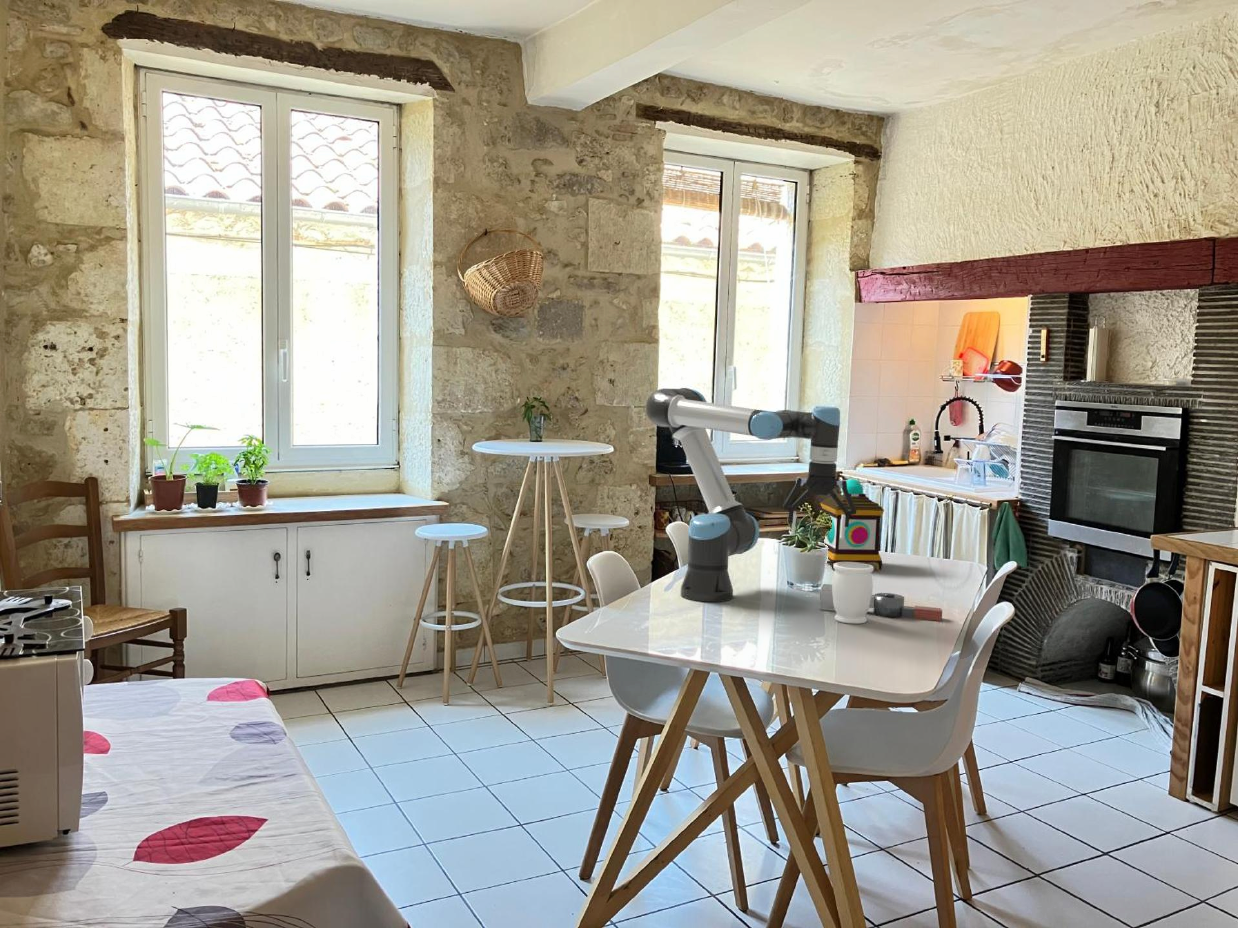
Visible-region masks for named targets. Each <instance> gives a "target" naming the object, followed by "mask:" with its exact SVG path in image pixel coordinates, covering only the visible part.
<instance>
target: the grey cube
mask: <svg viewBox="0 0 1238 928" xmlns="http://www.w3.org/2000/svg"><path fill="white" fill-rule="evenodd" d="M819 599H820V601H819V602H820V603H819V610H823V611H832V612H833V611H834V612H836V611H835V608H834V604H833V595H832V584H829V583H822V585H821V588H820V595H819Z"/></svg>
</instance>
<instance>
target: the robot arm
mask: <svg viewBox="0 0 1238 928" xmlns="http://www.w3.org/2000/svg"><path fill="white" fill-rule="evenodd" d="M645 413H646V416H647V417H648V419H649V421H650V422H651V423H652V424H654V425H655V426H658V427H661V428H662V427H663V428H669V430H670V433H671V434H672V437H673V438H674V439H677V440H678V441H680V444H681V446H682V449H683V451H684V453H685V457H686V458H687V460H688V463H689V466H690V468H691V471H692V473H693V476H694V478H695V480H696V481H695V482H696V483H697V485H698V488H699V490H700V493H701V496H702V498H703V500H704V503H705V504H706V508H707V510H708V513H702V514H698V515H695V516H693V517H692V518H691V519H690V522H689V526H688V527H689V528H688V533H687V534H688V550H687V570H686V572H685V575H684V577H683V581H682V584H681V585H680V596H681V597H683V598H684V599H686V600H687V599H688V600H693V601H697V602H698V601H699V602H708V603H709V602H711V603H712V602H726V601H729V600H732V598H733V597H734V588H733V585H732V580H731V578H730V575H729V557H730V556H735V555H742V554H744V553H746V552H748V551H750V550H752V549H753V548H754V547H755V546H756V545H757V544H758V540H759V537H760V526H759V523H758V521H757V520H756V519H755V517H754V516H752V515H751V514H749V513H747V512H746V510H745V508H744V505H743V503H741V502H739V501H737V500H736V499H735V497H734V494H733V492H732V489H731V487H730V485H729V483H728V480H727V478H726V475H725V473H724V471H723V468H722V465H721V462H720V460H719V459H718V456H717V454H716V451H715V449H714V446H713V444H712V441H711V439H710V436H709V434H708V431H707V430H712V431H720V432H726V433H732V434H736V435H737V434H739V435H742V436H743V435H744V436H750V437H751V436H752V437H755V438H757V439H758V440H759V439H760V440H765V441H767V440H768V441H771V440H776V439H790V438H793V439H794V438H795V439H805V440H810V449H809V460H810V462H809V463H808V473H807V474H808V475H807V478H802V477H800V476H797V477H796V479H795V481H796V482H795V485H794V486H793V488H792V489H791V491H790V493H789V494H788V496H787V498H786V499H785V501H784V503H783V504H782V508H783V509H784V510H786V511H787V512H788V518H787V519H788V523H789V524H791V536H793V537H795V535H796V533H795V532H796V521H797V511H796V509H798V508H799V507H800V506H801V505H802V504H803V502H804V501H806V499H808V498H809V497H810V496H812V494H814V495H815V496H820V495H821V496H828V495H830V496H831V498H832V497H833V499H834V500H835V501H836V503H837V504H838V505H839V507H840V508H841V509H842V511H843V512H844V513H845V515H842V517H841V530H840V538H841V539H844V529H845V527H848V526H849V517H850V515H852V514H856V509H855V507H854V504H853V502H852V500H851V497H850V495H849V492H848V490H847V481H846V480H845V479H842V480H837V478H836V477H837V464H836V462H837V460H838V447H839V436H840V426H841V410H840V409H839V408H838V407H836V406H825V405H824V406H822V405H815V406H814V407H813V410H812V412H810V411H809V412H808V411H807V412H806V411H798V410H791V409H778V410H776V411H771V410H770V411H769V410H763V409H755V408H754V409H753V408H749V407H742V406H741V407H740V406H733V405H728V404H722V403H721V404H720V403H712V402H707V400H706V398H705V396H704V395H703V394H702V393H701V392H700V391H698V390H697V389H691V388H687V387H683V388H682V387H681V388H660V389H656V390H655V391H653V392H652V393H651V394H650V395H649V397H647V400H646V402H645ZM804 484H806V485H807V486H808V488H807V489H805V491H804V492H803V493H802V494H801V495H800V496H799V497H798V499H796V500H795V501H794V502H793V500H794V498H795V497H796V495H797V493H798V491H799V490H800V488H801V487H803V485H804ZM837 486H838V487H839V488H840V489H841V491H843V493H844V495H845V498H846V500H847V503H848V505H849V507H850V510H847V509H846V507H845V506H844V505H843V503H842V502H841V501H840V499H839V498H838V497H837V495H836V494H837V493H835V491H834V489H835V488H836V487H837ZM792 502H793V503H792ZM791 503H792V504H791ZM790 505H791V506H790Z"/></svg>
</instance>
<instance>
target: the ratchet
mask: <svg viewBox="0 0 1238 928" xmlns="http://www.w3.org/2000/svg"><path fill="white" fill-rule="evenodd" d="M869 609H873V615H875V616H878V617H881V618H887V619H898V618H907V619H908V618H909V619H917V620H927V621H936V622H942V621H943V609H942V607H932V606H921V605H914V606H911V605H910V606H909V605H905V596H903V595H901V594H897V593H891V592H880V593H875V594H872V596H871V600H870V605H869Z"/></svg>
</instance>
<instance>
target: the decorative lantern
mask: <svg viewBox="0 0 1238 928" xmlns="http://www.w3.org/2000/svg"><path fill="white" fill-rule="evenodd" d="M846 482H847V490H848V492H849V495H850V497H851V500H852V502H853V504H854V507H855V509H856V514H852V515H850V517H849V526H848V527H845V529H844V539H841V538H840V530H841V517H842V515H845V513H844V512H843V511H842V509H841V508H840V507H839V505H838V504H837V503H836V501H835V500H834V499H833V497H832V496H831V497H826V499H823V500H822V501H820V506H821V508H822V513H823V512H826V513H828V514H830V517H831V520H832V529H830V531H827V532H826V534H825V539H824V543H825V545H827V546H828V548H829V549H828V559H827V560H828V561H829V562H830V564H831V566H830V567H831V570H833V571H835V569H834V568H833V564H834V563H837V562H858V563H864V564H869V563H875V565H876V570H877V571H878V570H880V571H882V568H883V560H882V557H881V555H880V553H879V552H880V533H881V520H882V519H881V518H882V516H883V514H884V512H885V509H884V508H883V507H882V506H881V505H879V503H878V502H876V501H875V502H874V501H873V500H871V499H870V498H869V497H868V496H867V494H866V493H864V487H863V484H862V483H861V482H860V481H858V480H857V479H856V478H851V479H848V480H847V481H846ZM835 494H836V495H837V497H838V498H839V499H840V501H841V502H842V503H843V505H844V506H845V507H846V509H847V510H850V507H849V505H848V503H847V500H846V498H845V495H844V493H843V491H842V490H840V491H839V492H838V493H835Z"/></svg>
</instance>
